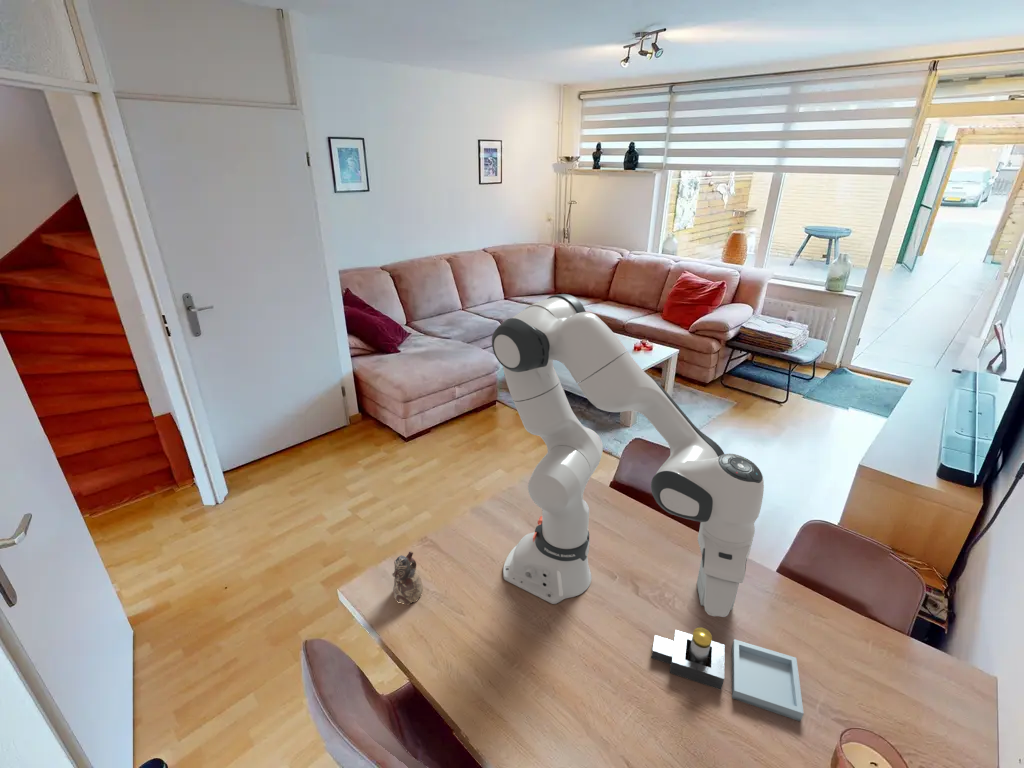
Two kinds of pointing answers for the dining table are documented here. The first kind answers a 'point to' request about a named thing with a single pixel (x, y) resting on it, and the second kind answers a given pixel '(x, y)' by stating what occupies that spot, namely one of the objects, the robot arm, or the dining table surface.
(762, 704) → the parts tray
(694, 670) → the block
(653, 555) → the dining table surface
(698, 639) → the small capped bottle
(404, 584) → the figurine
